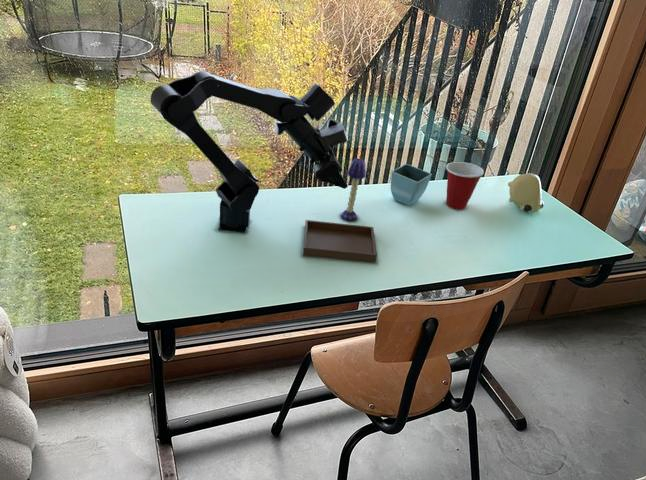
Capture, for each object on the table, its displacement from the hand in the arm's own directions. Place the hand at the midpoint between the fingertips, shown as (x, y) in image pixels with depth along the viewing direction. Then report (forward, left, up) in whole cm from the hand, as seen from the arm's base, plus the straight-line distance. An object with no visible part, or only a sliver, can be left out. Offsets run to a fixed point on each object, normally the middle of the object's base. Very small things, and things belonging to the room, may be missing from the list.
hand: (343, 179), depth 144 cm
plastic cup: (+35, +15, -11) cm, 40 cm away
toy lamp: (+3, 0, -11) cm, 12 cm away
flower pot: (+20, +14, -11) cm, 27 cm away
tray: (0, -14, -11) cm, 18 cm away
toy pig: (+57, +19, -11) cm, 61 cm away
